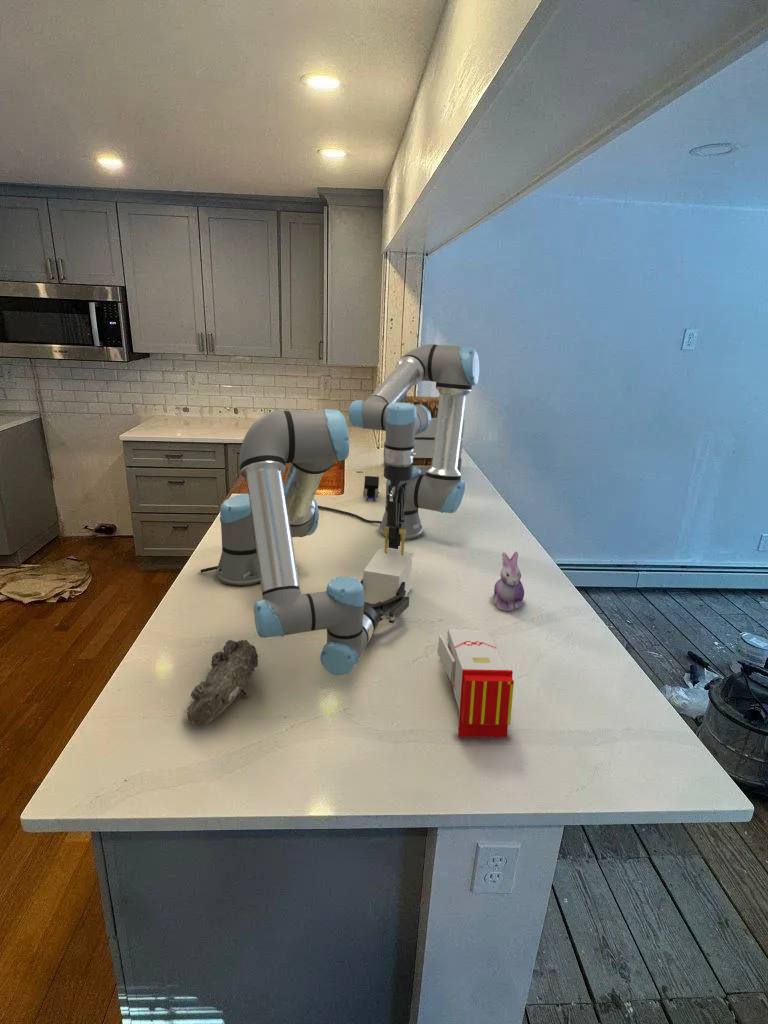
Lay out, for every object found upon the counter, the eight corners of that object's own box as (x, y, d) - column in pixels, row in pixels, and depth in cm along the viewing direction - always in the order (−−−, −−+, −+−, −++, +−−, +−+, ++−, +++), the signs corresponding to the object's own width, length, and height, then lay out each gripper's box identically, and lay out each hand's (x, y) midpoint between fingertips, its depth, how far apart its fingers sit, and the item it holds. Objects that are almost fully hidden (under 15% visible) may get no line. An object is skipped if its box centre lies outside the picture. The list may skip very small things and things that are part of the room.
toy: (488, 613, 130) (523, 677, 101) (484, 667, 133) (517, 744, 104) (435, 612, 130) (455, 676, 101) (432, 666, 133) (451, 743, 103)
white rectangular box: (379, 551, 160) (381, 522, 157) (412, 556, 158) (414, 527, 155) (363, 575, 146) (364, 543, 143) (399, 580, 144) (400, 548, 141)
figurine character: (379, 506, 231) (378, 490, 244) (379, 489, 227) (379, 474, 241) (362, 505, 230) (363, 490, 244) (363, 488, 227) (363, 474, 240)
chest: (377, 584, 163) (378, 553, 159) (409, 589, 160) (412, 558, 157) (361, 608, 149) (363, 575, 146) (397, 615, 147) (399, 581, 144)
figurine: (506, 615, 149) (513, 563, 144) (482, 598, 157) (488, 548, 152) (534, 608, 153) (541, 558, 148) (509, 592, 161) (516, 543, 156)
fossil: (208, 642, 124) (257, 611, 119) (238, 671, 127) (287, 641, 122) (164, 718, 104) (221, 685, 99) (200, 750, 107) (257, 719, 102)
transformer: (382, 463, 289) (386, 382, 275) (445, 464, 293) (451, 384, 279) (390, 482, 257) (394, 392, 243) (460, 483, 261) (468, 394, 247)
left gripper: (313, 631, 133) (344, 589, 154) (405, 648, 128) (424, 603, 148) (313, 603, 131) (345, 564, 151) (406, 619, 126) (426, 577, 146)
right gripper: (406, 472, 140) (401, 559, 148) (418, 458, 153) (413, 538, 161) (377, 468, 142) (373, 554, 150) (391, 455, 155) (387, 535, 163)
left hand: (384, 583), depth 150 cm, fingers closed on chest, 9 cm apart
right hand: (394, 546), depth 156 cm, fingers closed on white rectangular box, 1 cm apart
